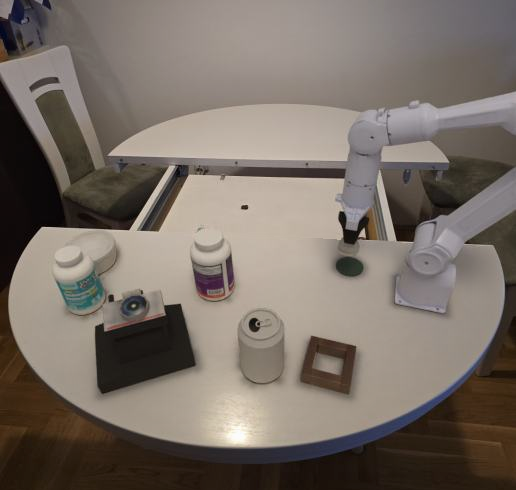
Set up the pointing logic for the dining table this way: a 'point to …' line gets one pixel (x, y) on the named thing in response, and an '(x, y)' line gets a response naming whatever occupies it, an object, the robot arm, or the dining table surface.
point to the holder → (327, 378)
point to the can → (261, 345)
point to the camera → (140, 340)
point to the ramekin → (97, 248)
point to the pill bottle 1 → (78, 280)
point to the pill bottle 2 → (212, 264)
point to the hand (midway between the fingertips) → (350, 237)
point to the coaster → (349, 266)
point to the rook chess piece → (348, 248)
